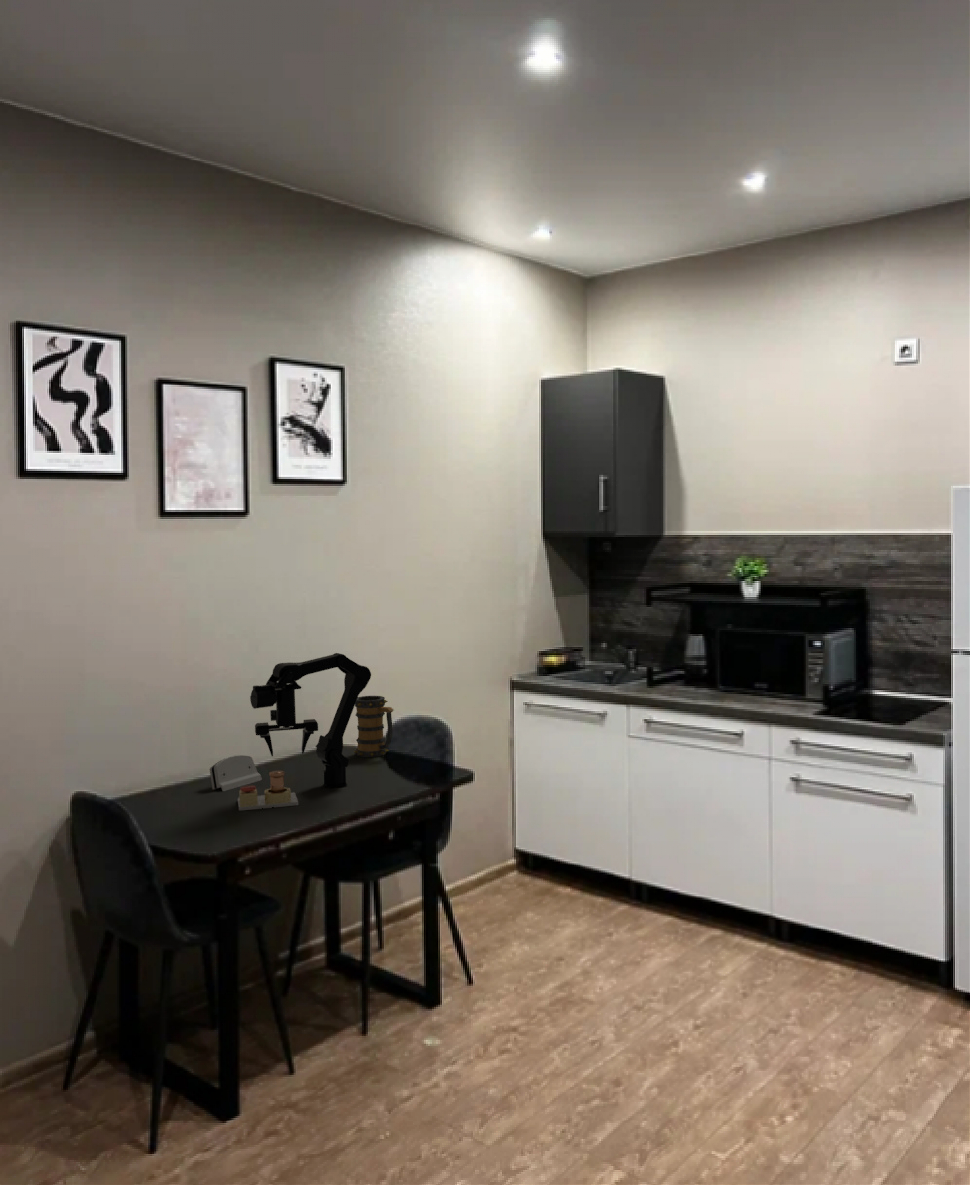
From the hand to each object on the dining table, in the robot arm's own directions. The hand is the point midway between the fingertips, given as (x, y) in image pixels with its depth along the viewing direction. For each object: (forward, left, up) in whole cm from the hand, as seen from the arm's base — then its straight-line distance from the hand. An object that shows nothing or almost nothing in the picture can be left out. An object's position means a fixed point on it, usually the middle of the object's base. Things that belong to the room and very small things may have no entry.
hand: (287, 754), depth 317 cm
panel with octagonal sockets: (+7, +9, -12) cm, 17 cm away
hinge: (+16, -17, -12) cm, 26 cm away
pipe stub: (+4, +9, -11) cm, 15 cm away
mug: (-34, -42, -12) cm, 55 cm away
